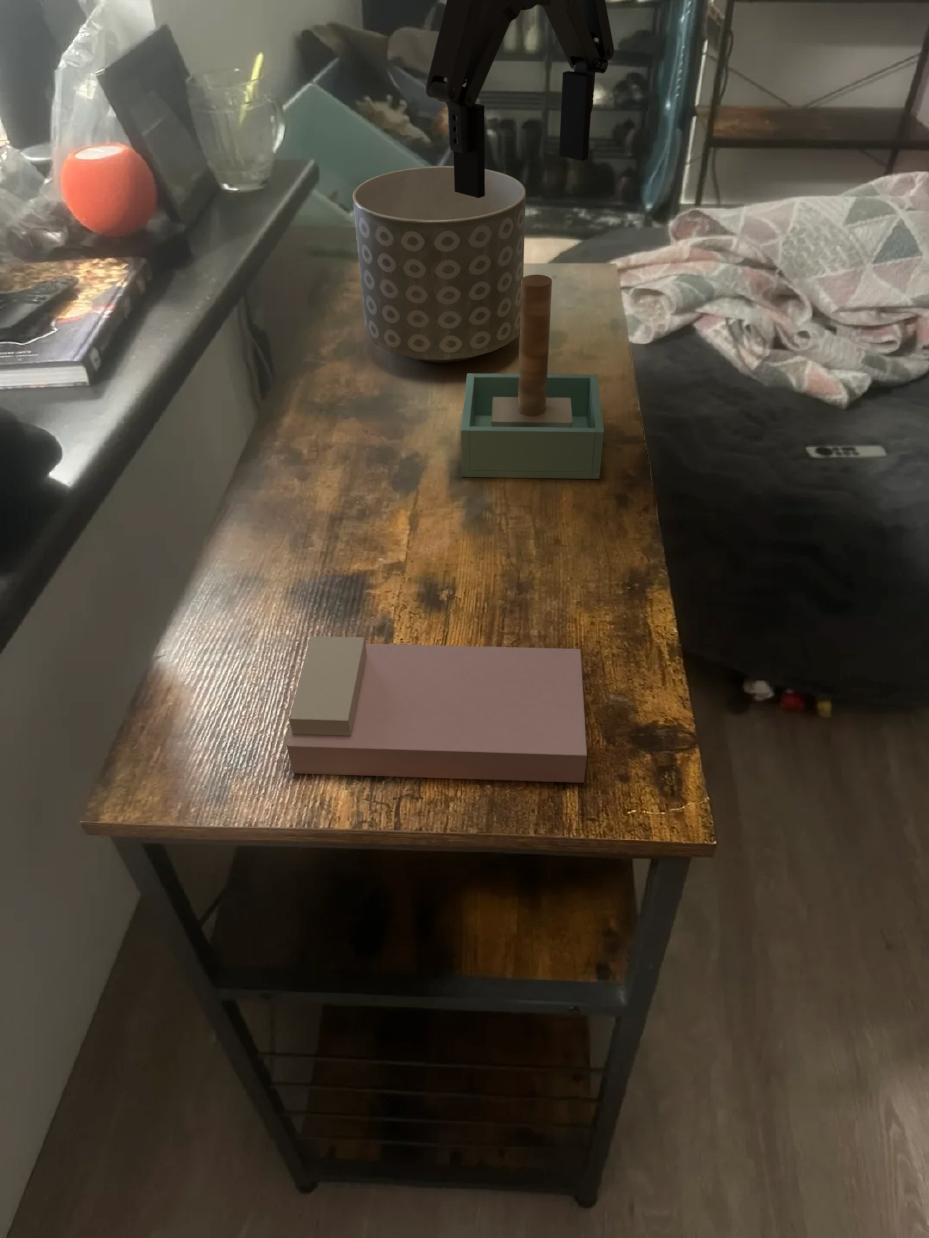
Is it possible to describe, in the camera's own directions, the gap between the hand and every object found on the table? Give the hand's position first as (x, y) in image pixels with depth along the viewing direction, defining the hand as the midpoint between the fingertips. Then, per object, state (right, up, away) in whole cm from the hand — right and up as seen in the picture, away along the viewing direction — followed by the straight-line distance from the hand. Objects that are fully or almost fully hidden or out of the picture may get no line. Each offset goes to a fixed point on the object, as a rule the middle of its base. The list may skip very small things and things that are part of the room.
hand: (523, 175), depth 75 cm
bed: (-7, -46, -12) cm, 48 cm away
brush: (+2, -20, +15) cm, 25 cm away
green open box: (+2, -20, +16) cm, 26 cm away
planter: (-8, -5, +33) cm, 35 cm away
